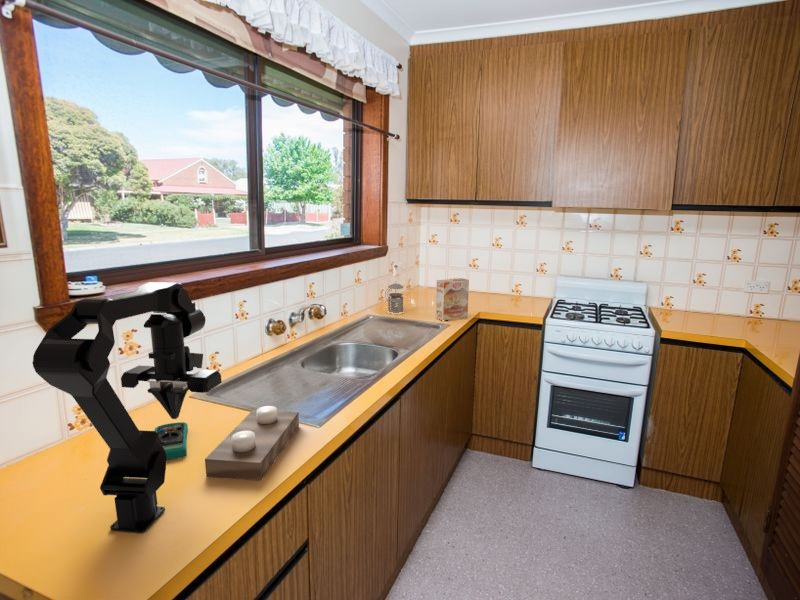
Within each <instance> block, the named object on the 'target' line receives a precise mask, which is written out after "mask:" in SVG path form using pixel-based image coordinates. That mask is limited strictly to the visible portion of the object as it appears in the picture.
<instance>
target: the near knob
mask: <svg viewBox="0 0 800 600" xmlns="http://www.w3.org/2000/svg"><path fill="white" fill-rule="evenodd" d="M254 447H255V433H254V432H252V431H240V432H237V433H235V434H233V435H232V449H233V450H234V451H235V452H246V451H249V450H252V449H253V448H254Z"/></svg>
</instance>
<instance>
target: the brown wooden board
mask: <svg viewBox="0 0 800 600" xmlns="http://www.w3.org/2000/svg"><path fill="white" fill-rule="evenodd" d="M256 411H257V409H252V410H251V411H250V412H249V413H248V414H247V415H246V416H245V417H244V419H242V420H241V422H239V424H237V426H235V427H234V429H233V430H232V431H231V432H230V433H228V435H227V436H225V438H224V439H223V440H221V442H220V443H219V444H218V445H217V446H216V447H215V448H214V449H213V450H212V451H211V452H210V453H208V455H207V456H206V457H205V458H204V465H205V466H204V467H205V475H206V477H210V478H224V479H237V480H238V479H239V480H251V481H253V480H254V481H262V480H263V479H264V477H265V476H266V475H267V473H268V472H269V470H270V469H271V468H272V466H273V465H274V463H275V462H274V461H276V460H277V459H278V457H279V456H280V455H281V453H282V452H283V450H284V448H286V446H287V445H288V444H289V442H290V440H291V439H292V437H294V435H295V434H296V432H297V431H298V429H299V427H300V418H299V417H300V416H299V414H300V413H299V411H288V410H287V411H286V410H277V420H276V421H275V422H273V423H271V424H260V423H258V422H257V412H256ZM240 431H252V432H254V433H255V447H254V448H253V449H252V450H249V451H246V452H235V451H234V450H233V449H232V435H233V434H235V433H237V432H240ZM279 454H280V455H279ZM272 464H273V465H272ZM265 474H266V475H265Z"/></svg>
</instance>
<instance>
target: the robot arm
mask: <svg viewBox="0 0 800 600" xmlns="http://www.w3.org/2000/svg"><path fill="white" fill-rule="evenodd" d="M151 312H152V313H153V314H152V313H151ZM146 313H147V314H148V313H151V314H150V315H149V317H148V319H146V320H145V322H144V324H143V328H146V329H150V338H151V339H150V340H151V348H152V351H151V352H148V353H147V354H148V359H151V360H152V359H153V365H137V366H135V367H133V368H131V369H128V370H126V371H124V372H123V374H122V375H121V376H120V384H121V388H130V389H134V388H136V387H137V386H138V385H139V382H147V383H149V388H148V389H147V393H149V394H151V395H152V396H153V397H154V398H155V399H156V400H157V401H158V403H160V405H161V406H162V408H163V409H164V411H166V413H167V414H168V415H169V417H170V419H172V420H177V419H178V418H179V417H180V413H181V410H182V406H183V405H184V404H183V403H184V400H185V397H186V395H187V393H188V391H190V392H191V393H201V394H204V393H208V392H210V391H211V390H213V389H214V388H216V387H218V386H219V385H220V384H222V374H221V373H220V371H219V370H217V369H206V368H205V369H204V368H203V360H204V353H197V352H190V347H189V345H188V346H187V345H185V338H187V337H188V338H189V336H191V335H193V334H195V333H197V332H199V331H201V330H202V329H203V328H204V327H205V324H206V316H205V314H204V312H203V311H202V310H201V309H200V308H198V307H196V302H195V301H192V299H191V297H190V296H189V293H187V290H186V289H185V288H183V284H182V283H180V282H161V281H160V282H159V281H158V282H157V281H156V282H154V281H153V282H151V281H149V282H146V283H144V284H142V285H138V287H137V289H136V290H134V291H130V292H124V293H117V294H113V295H112V294H111V295H106V296H100V297H92V298H91V297H84V298H82V299H80V300H77V301H76V302H75V304H74V305H73V307H72V308H71V311H70V312H69V313H68V314H66V315H65V316H64V317H63V318H62V319H60V320H58V321H57V322H56V323H54V325H52V326H51V327H50V328H49V329H48V330H47V331H46V333H45V335H44V336H43V338H42V339H41V342H40V343H39V344H38V346H37V347H36V349H35V351H34V353H33V356H32V357H33V358H32V362H31V363H32V367H33V369H34V371H35V372H36V374H37V375H38V376H39V377H41V378H42V379H43V380H44V381H45V382H46V383H47V384H49V385H50V386H52V387H54V388H56V389H58V390H60V391H62V392H64V393H67V394H69V395H70V396H71V397H72V398H73V399H74V400H75V402H76V403H77V405H78V406H79V408H80V409H81V410H82V412H83V413H84V414H85V416H86V417H87V419H88V420H89V422H90V423H91V425H93V427H94V428H95V430H96V432H97V433H98V434H99V435H100V437H101V438H102V440H103V441H104V442H105V444H106V445H107V447H108V448H109V451H108V456H107V458H106V462H107V464H108V465H107V468H106V471H105V472H104V473H105V474H104V477H103V479H102V481H101V484H100V487H99V489H100V491H101V493H102V496H116V497H114V506H115V513H116V520H115V521H114V522H113V523H112V524H111V525H110V526H109V529H110V530H111V531H119V532H132V533H141V534H142V533H144V532H146V531H147V530H148V529H149V528H150V527H151V526H152V525H153V524H154V523H155V522H156V521H157V520H158V519H159V517H160V516H161V515H162V514H163V513H164V512H165V511H166V508H165V506H159V505H158V497H157V491H158V490H159V489H160V488H161V487H162V486H163V485H164V483H165V479H166V469H167V462H168V460H167V456H166V453H165V450H164V448H163V445H164V443H163V442H162V441H161V440H160V438H159V435H158V434H157V433H156V432H155V430H139V428H138V427H137V424H135V422H134V420H133V418H132V417H131V415H130V414H129V412H128V410H127V409H126V408H125V405H124V404H123V402H122V401H121V399H120V397H119V396H118V395H117V393H116V391H115V389H114V388H113V387H112V385H111V384H110V382H109V380H108V378H107V377H108V374H109V369H110V366H111V363H110V359H109V356H110V354H111V352H112V349H113V348H114V346H115V344H116V342H115V341H116V340H115V333H114V328H113V327H114V325H115V323H116V321H119V320H123V319H127V318H131V317H135V316H141V315H142V314H146ZM89 324H91V325H95V324H96V325H97V326H98V331H97V334H96V335H95V337H94V339H93V338H74V337H76V335H78V334H79V333H80V332H82V331H83V330H84V329H85V328H86V327H87V326H88V325H89ZM194 368H196V369H199V370H198V371H197V372H195V373H188V372H192V371H194ZM202 368H203V369H202ZM200 369H201V370H200Z"/></svg>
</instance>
